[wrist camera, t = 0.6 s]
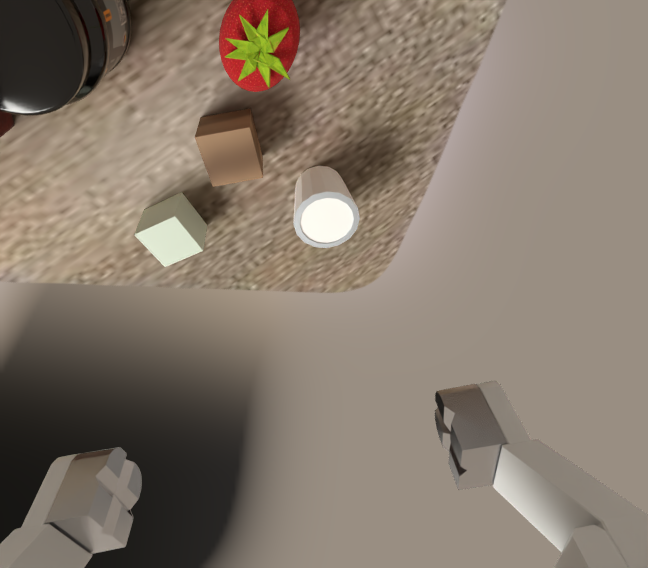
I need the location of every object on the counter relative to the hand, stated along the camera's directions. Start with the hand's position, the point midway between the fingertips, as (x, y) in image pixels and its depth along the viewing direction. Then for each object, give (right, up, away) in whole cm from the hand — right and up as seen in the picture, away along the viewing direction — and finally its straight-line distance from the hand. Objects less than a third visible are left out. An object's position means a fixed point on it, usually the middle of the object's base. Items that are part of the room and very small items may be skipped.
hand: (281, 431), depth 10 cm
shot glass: (+1, +15, +36) cm, 39 cm away
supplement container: (-20, +27, +22) cm, 40 cm away
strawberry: (-5, +26, +25) cm, 36 cm away
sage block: (-16, +12, +36) cm, 41 cm away
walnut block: (-8, +19, +31) cm, 37 cm away
